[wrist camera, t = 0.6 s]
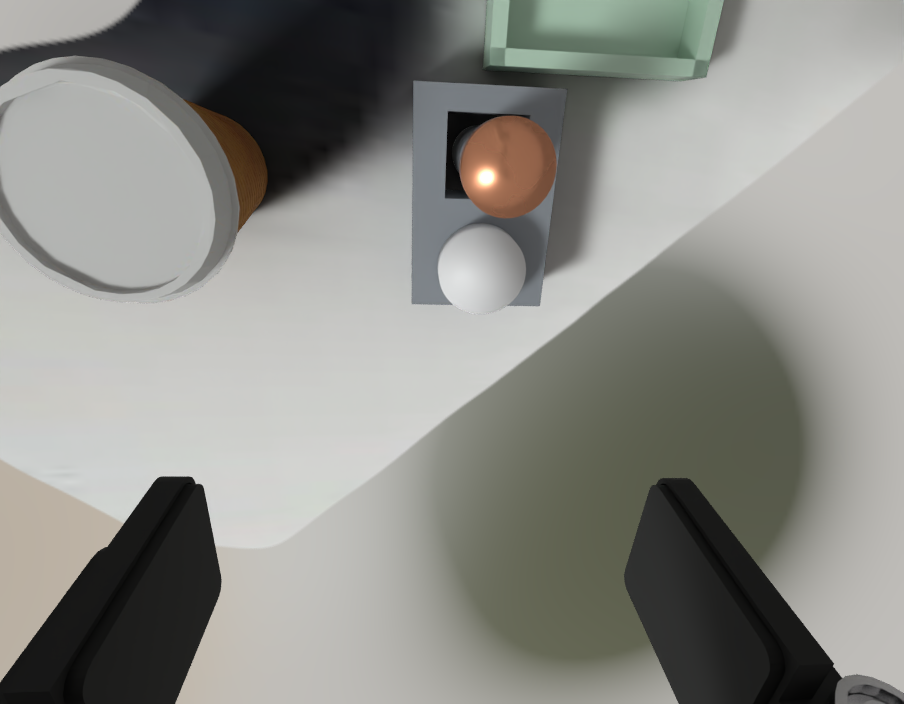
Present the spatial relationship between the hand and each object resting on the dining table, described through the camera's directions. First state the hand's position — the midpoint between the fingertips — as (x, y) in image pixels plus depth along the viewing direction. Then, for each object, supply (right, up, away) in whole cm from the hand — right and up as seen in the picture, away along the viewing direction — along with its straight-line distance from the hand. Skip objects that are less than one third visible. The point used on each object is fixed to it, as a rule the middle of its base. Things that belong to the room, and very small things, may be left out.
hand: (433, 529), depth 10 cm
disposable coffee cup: (-14, +15, +19) cm, 28 cm away
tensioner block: (+2, +14, +21) cm, 25 cm away
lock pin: (+2, +16, +20) cm, 26 cm away
